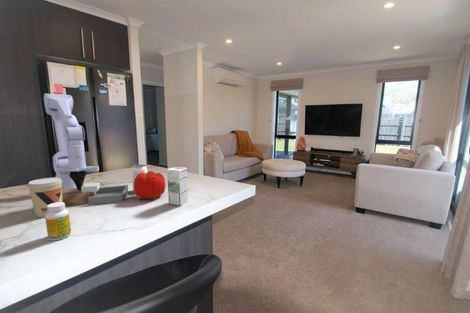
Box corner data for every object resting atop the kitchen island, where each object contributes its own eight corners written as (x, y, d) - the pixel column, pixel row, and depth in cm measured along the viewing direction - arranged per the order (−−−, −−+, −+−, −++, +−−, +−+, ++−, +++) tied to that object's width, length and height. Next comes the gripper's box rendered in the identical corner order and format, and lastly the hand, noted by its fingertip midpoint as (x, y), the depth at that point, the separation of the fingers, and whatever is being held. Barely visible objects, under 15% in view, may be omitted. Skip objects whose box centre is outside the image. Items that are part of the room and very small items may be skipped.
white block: (81, 192, 93) (81, 187, 93) (85, 188, 98) (84, 183, 98) (97, 191, 95) (96, 185, 95) (100, 187, 100) (99, 182, 100)
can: (143, 193, 105) (141, 167, 103) (130, 192, 107) (128, 166, 105) (150, 189, 112) (149, 164, 110) (138, 188, 113) (137, 164, 111)
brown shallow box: (50, 207, 89) (49, 197, 88) (60, 198, 98) (59, 189, 97) (90, 203, 93) (89, 193, 92) (95, 195, 102) (94, 186, 102)
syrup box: (188, 201, 96) (187, 167, 93) (180, 206, 90) (179, 170, 88) (176, 199, 97) (175, 166, 95) (168, 204, 92) (166, 169, 89)
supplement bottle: (59, 241, 64) (55, 208, 63) (43, 240, 65) (38, 207, 64) (75, 232, 70) (72, 201, 68) (60, 231, 70) (56, 200, 69)
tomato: (162, 201, 95) (160, 177, 93) (128, 202, 94) (127, 177, 92) (169, 191, 108) (168, 169, 107) (140, 191, 108) (138, 169, 106)
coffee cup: (38, 220, 77) (33, 185, 75) (28, 214, 82) (23, 181, 80) (70, 211, 85) (66, 179, 83) (58, 206, 90) (54, 175, 88)
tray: (88, 205, 91) (88, 197, 91) (96, 194, 104) (95, 187, 104) (125, 201, 95) (124, 194, 95) (128, 191, 108) (127, 184, 108)
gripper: (50, 159, 87) (55, 194, 89) (94, 157, 92) (98, 190, 94) (57, 156, 94) (61, 189, 96) (98, 154, 98) (101, 185, 101)
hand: (80, 189), depth 95 cm, fingers closed
